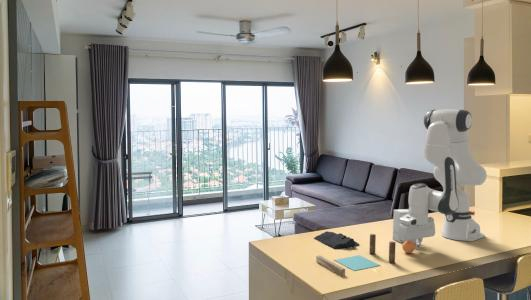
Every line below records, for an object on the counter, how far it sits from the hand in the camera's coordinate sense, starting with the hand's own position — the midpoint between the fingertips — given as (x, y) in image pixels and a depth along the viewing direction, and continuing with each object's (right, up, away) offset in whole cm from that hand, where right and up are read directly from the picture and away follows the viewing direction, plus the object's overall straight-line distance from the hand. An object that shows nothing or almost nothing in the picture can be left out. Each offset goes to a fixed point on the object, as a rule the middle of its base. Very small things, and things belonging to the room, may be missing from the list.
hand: (416, 247), depth 197 cm
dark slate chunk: (-36, -2, +14) cm, 38 cm away
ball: (-5, +1, -2) cm, 5 cm away
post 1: (-22, -2, -3) cm, 22 cm away
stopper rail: (-44, -4, -21) cm, 49 cm away
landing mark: (-31, -3, -15) cm, 35 cm away
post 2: (-16, -3, -15) cm, 22 cm away
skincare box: (-1, -1, +18) cm, 18 cm away
